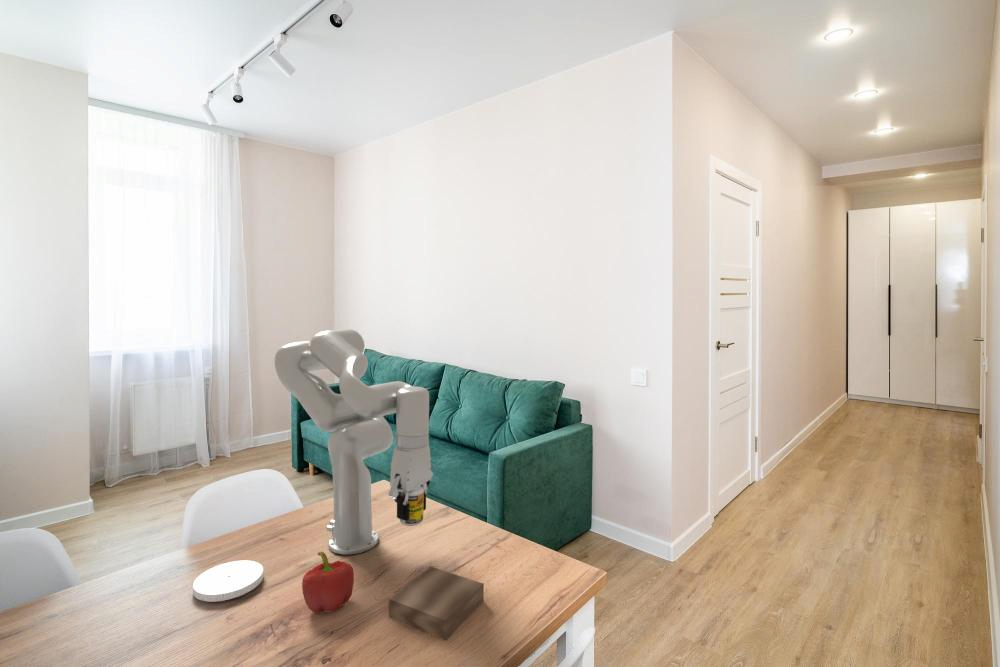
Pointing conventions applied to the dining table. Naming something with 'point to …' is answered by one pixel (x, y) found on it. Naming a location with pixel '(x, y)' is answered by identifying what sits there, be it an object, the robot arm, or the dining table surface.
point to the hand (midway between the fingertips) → (411, 513)
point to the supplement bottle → (415, 506)
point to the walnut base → (436, 602)
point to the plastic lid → (228, 580)
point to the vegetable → (328, 585)
